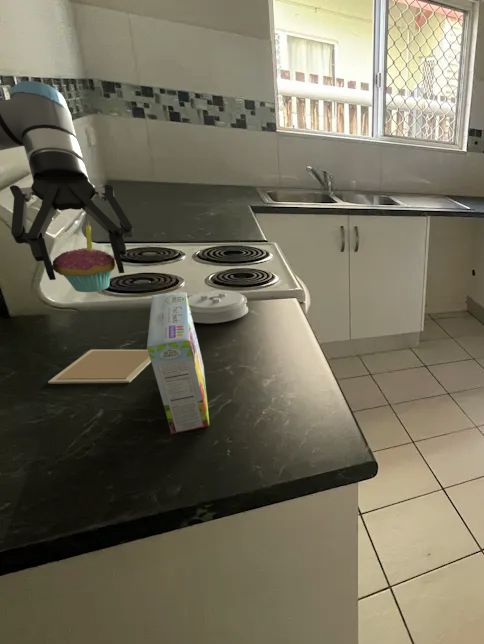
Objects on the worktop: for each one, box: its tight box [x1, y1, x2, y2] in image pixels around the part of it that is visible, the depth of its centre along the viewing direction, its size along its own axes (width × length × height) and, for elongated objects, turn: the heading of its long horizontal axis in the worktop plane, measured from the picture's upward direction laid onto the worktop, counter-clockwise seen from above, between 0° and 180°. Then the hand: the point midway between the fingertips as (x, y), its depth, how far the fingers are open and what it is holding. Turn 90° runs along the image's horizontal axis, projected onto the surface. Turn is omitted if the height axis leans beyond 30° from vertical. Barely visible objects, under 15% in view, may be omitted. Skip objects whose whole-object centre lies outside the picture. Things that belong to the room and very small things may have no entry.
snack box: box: [146, 291, 210, 436], centre depth 76 cm, size 21×6×15 cm, turn 33°
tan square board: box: [47, 349, 152, 385], centre depth 86 cm, size 12×12×1 cm
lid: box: [187, 289, 249, 324], centre depth 108 cm, size 13×13×5 cm
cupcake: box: [52, 220, 117, 293], centre depth 83 cm, size 9×8×12 cm
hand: (87, 272), depth 82 cm, fingers closed on cupcake, 8 cm apart
